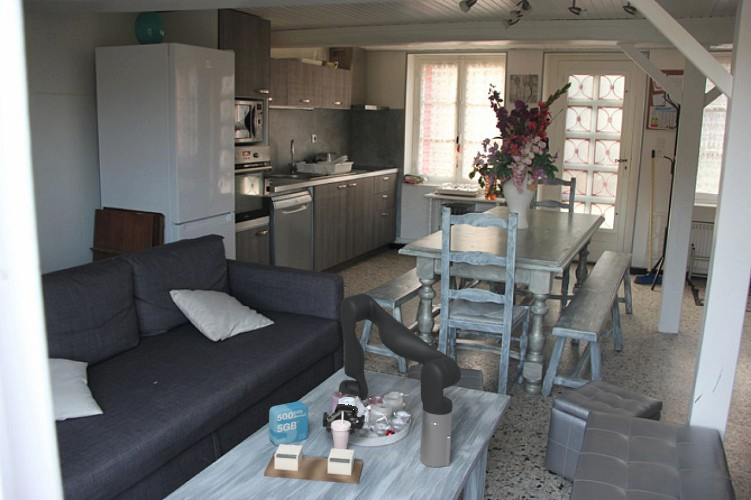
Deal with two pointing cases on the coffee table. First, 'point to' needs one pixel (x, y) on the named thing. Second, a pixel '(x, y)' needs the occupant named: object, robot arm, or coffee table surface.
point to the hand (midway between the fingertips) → (339, 430)
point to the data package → (288, 423)
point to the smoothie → (340, 433)
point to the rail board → (314, 465)
